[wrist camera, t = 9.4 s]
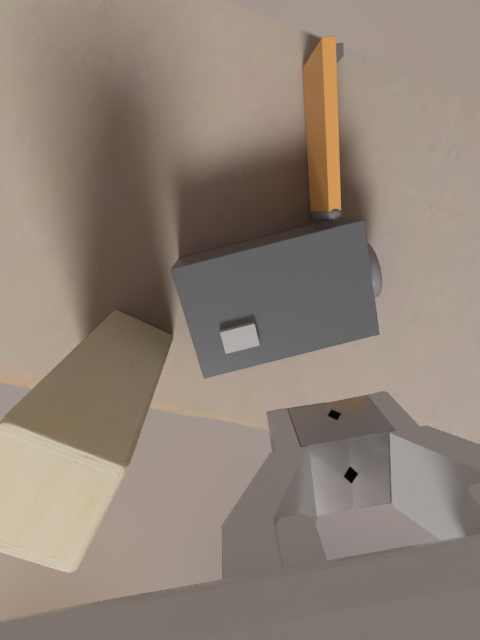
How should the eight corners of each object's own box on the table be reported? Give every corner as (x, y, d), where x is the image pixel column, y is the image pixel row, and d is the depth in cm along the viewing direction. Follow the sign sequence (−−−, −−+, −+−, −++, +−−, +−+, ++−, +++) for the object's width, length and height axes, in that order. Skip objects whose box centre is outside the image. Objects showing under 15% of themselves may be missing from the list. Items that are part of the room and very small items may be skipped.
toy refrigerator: (108, 303, 37) (-16, 414, 17) (175, 333, 39) (132, 469, 19) (79, 368, 39) (-63, 537, 19) (144, 395, 40) (75, 579, 20)
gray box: (351, 214, 36) (385, 215, 29) (365, 309, 39) (399, 332, 32) (178, 258, 36) (169, 270, 29) (205, 349, 39) (203, 381, 32)
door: (329, 217, 36) (351, 219, 30) (311, 219, 36) (329, 221, 30) (323, 65, 32) (346, 34, 26) (302, 67, 32) (322, 37, 26)
